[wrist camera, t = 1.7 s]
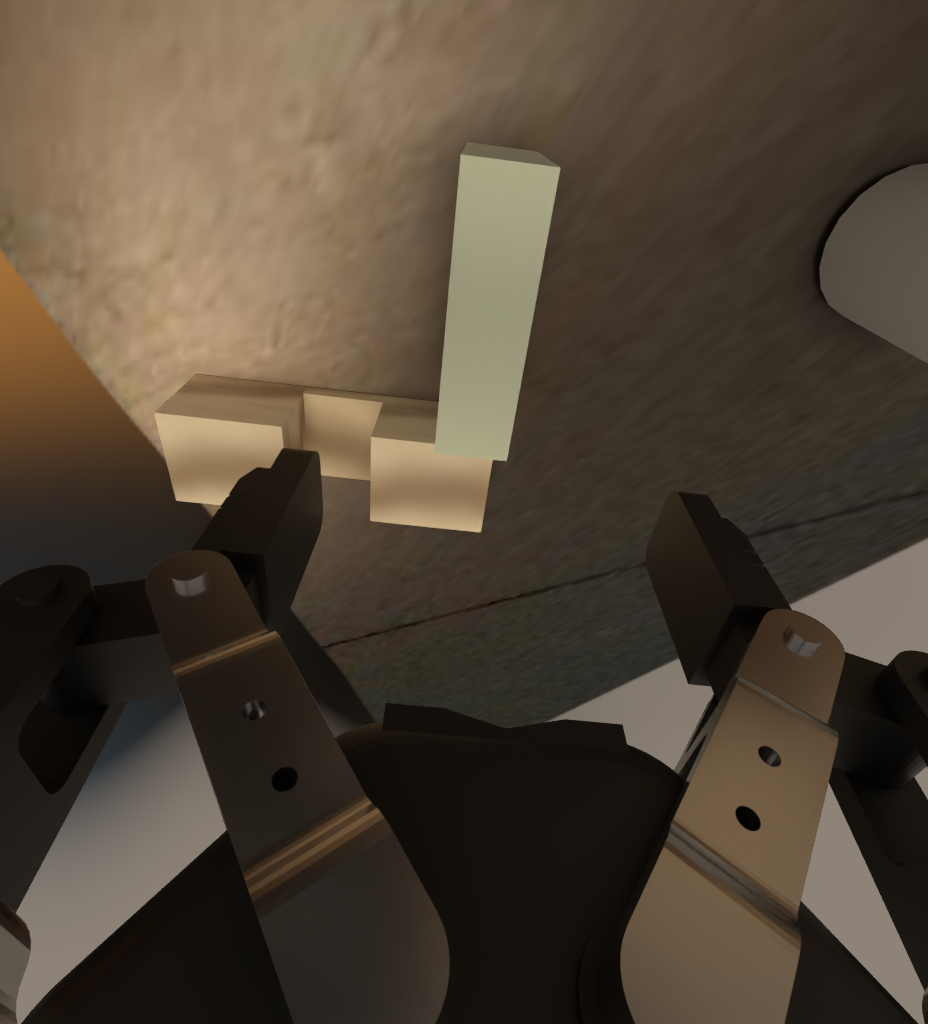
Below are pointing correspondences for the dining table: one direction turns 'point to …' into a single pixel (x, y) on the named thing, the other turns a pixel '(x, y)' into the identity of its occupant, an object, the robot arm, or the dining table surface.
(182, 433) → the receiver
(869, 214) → the can
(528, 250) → the sage green tall block
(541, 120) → the dining table surface
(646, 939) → the robot arm
